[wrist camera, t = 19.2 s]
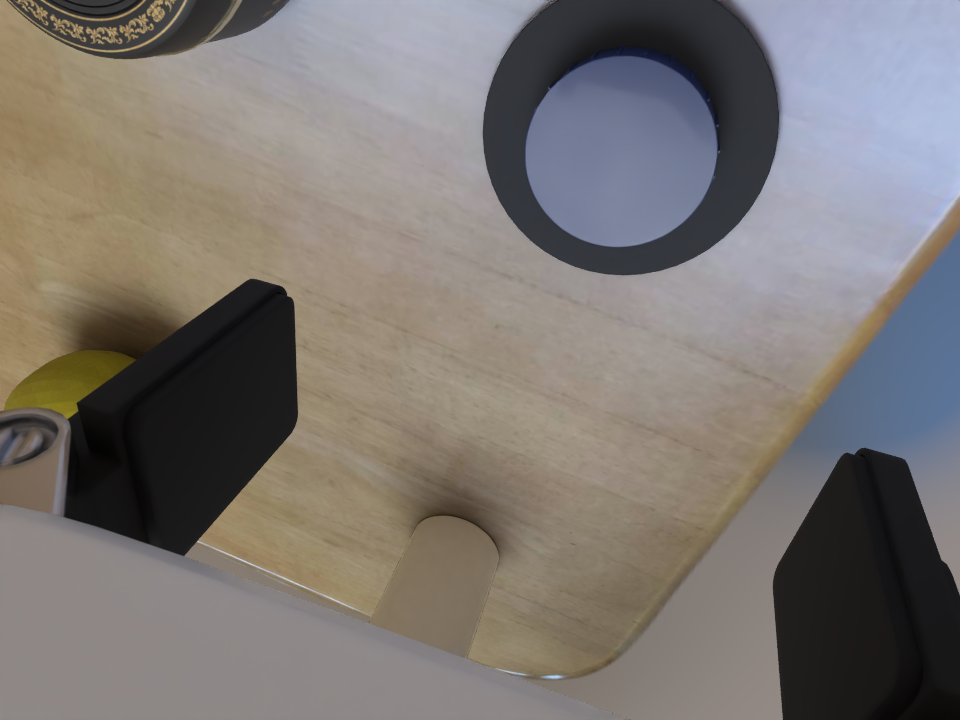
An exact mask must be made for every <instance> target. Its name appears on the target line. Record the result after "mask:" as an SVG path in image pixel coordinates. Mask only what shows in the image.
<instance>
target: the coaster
mask: <svg viewBox="0 0 960 720" xmlns="http://www.w3.org/2000/svg"><path fill="white" fill-rule="evenodd" d="M621 45H624V47H640V48H647V46H649V47H650V49H652V50H655V51H659V52H662V53H664V54H666V55H668V56H670V57H671V56H672V55H674V56H675V57H674V59H676V60H677V61H679V62H680V63H682V64H683V65H685V66H686V67H687V68H688V69H689V70H690V71H691V72H692V71H693V70H694V71H695V76H696V77H697V78H698V79H699V81H700V82H701V83H702V85H703V87H704V88H705V90H706V91H709V92H710V100H711V102H712V105H713V108H714V112H715V115H717V114H718V122H719V127H717V133H718V140H720V153H719V154H718V158H717V165H716V170H715V178H714V179H713V180H712V183H711V185H710V187H709V190H708V192H707V194H706V196H705V197H704V200H703V201H702V202H701V204H700V205H699V206H698V208H697V209H696V210H695V211H694V213H693V214H692V215H691V216H690V217H689V218H688V219H687V220H686V221H685V222H684V223H683V224H681V225H680V226H679V227H677V228H676V229H675V230H673V231H672V232H670V233H668V234H667V235H665V236H663V237H661V238H658V239H656V240H654V241H651V242H648V243H645V244H641V245H636V246H630V247H605V246H600V245H595V244H592V243H589V242H585V241H583V240H580V239H578V238H576V237H574V236H572V235H571V234H569V233H567V232H566V231H564V230H563V229H561V228H560V227H559V226H558V225H557V224H555V223H554V222H553V221H552V220H551V219H550V218H549V217H548V216H547V215H546V213H545V212H544V211H543V209H542V208H541V206H540V205H539V203H538V202H537V200H536V198H535V196H534V194H533V192H532V189H531V187H530V184H529V181H528V177H527V173H526V166H525V143H526V136H527V135H526V134H527V132H528V128H529V124H530V122H531V119H532V117H533V114H534V109H535V108H536V107H537V106H538V105H539V103H540V101H541V100H542V99H543V97H544V96H545V94H546V93H547V92H548V91H549V90H548V87H549V86H550V85H551V84H552V83H553V82H554V81H555V80H556V79H557V80H559V79H560V78H561V77H562V76H563V75H564V74H565V73H566V72H567V69H568V68H569V67H570V66H571V65H572V64H573V63H575V62H576V63H579V62H581V61H582V60H584V59H585V58H587V57H589V56H592V55H593V54H594V53H595V52H596V51H598V50H599V52H602V51H605V50H609V49H614V48H620V46H621ZM778 124H779V110H778V102H777V93H776V89H775V85H774V81H773V77H772V73H771V70H770V68H769V66H768V64H767V61H766V59H765V57H764V54H763V52H762V50H761V48H760V47H759V45H758V43H757V42H756V40H755V39H754V37H753V35H752V34H751V32H750V31H749V30H748V29H747V28H746V27H745V25H744V24H743V23H742V22H741V21H740V20H739V18H738V17H737V16H736V15H734V14H733V13H732V12H731V11H730V10H729V9H727V8H726V7H725V6H724V5H723V4H722V3H720V2H718V1H717V0H558V1H556V2H555V3H553V4H552V5H551V6H549V7H548V8H546V9H545V10H544V11H542V12H541V13H540V14H539V15H538V16H536V17H535V18H534V19H533V20H532V21H531V22H530V23H529V24H528V25H527V26H526V27H525V28H524V29H523V30H522V32H521V33H520V34H519V35H518V36H517V38H516V39H515V40H514V41H513V43H512V44H511V46H510V47H509V49H508V51H507V52H506V54H505V55H504V57H503V58H502V60H501V62H500V65H499V67H498V69H497V71H496V73H495V75H494V77H493V81H492V84H491V87H490V90H489V93H488V96H487V102H486V107H485V112H484V123H483V143H484V154H485V159H486V165H487V170H488V173H489V176H490V179H491V182H492V185H493V188H494V190H495V192H496V194H497V196H498V199H499V201H500V203H501V204H502V206H503V207H504V209H505V211H506V212H507V214H508V216H509V217H510V218H511V219H512V221H513V222H514V223H515V224H516V226H517V227H518V228H519V229H520V230H521V231H522V232H523V233H524V234H525V235H526V236H527V237H528V238H529V239H530V240H531V241H532V242H533V243H535V244H536V245H537V246H538V247H540V248H541V249H542V250H544V251H545V252H547V253H548V254H550V255H552V256H554V257H555V258H557V259H559V260H561V261H563V262H565V263H568V264H570V265H572V266H575V267H578V268H581V269H584V270H588V271H592V272H597V273H603V274H612V275H636V274H645V273H651V272H656V271H661V270H664V269H667V268H670V267H674V266H677V265H679V264H681V263H684V262H686V261H688V260H690V259H693V258H694V257H696V256H698V255H700V254H701V253H703V252H705V251H706V250H708V249H710V248H711V247H712V246H714V245H715V244H716V243H717V242H719V241H720V240H721V239H723V238H724V237H725V236H726V235H727V234H728V233H729V232H730V231H731V230H732V229H733V228H734V227H735V226H736V225H737V224H738V223H739V222H740V221H741V220H742V218H743V217H744V216H745V215H746V213H747V212H748V211H749V210H750V208H751V207H752V205H753V203H754V202H755V200H756V198H757V197H758V195H759V194H760V192H761V190H762V188H763V185H764V183H765V181H766V179H767V177H768V174H769V172H770V168H771V165H772V162H773V159H774V155H775V150H776V144H777V138H778Z"/></svg>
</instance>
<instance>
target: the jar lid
mask: <svg viewBox="0 0 960 720" xmlns="http://www.w3.org/2000/svg"><path fill="white" fill-rule="evenodd" d="M674 57H675V56H674V55H672V56H671V57H670V56H668V55H666V54H664V53H662V52H659V51H655V50H652V49H650V47H649V46H647V48H640V47H624V45H621V46H620V48H614V49H609V50H605V51H602V52H599V50H598V51H596V52H595V53H594V54H593V55H592V56H589V57H587V58H585V59H584V60H582V61H581V62H579V63H576V62H575V63H573V64H572V65H571V66H570V67H569V68H568V69H567V72H566V73H565V74H564V75H563V76H562V77H561V78H560V79H559V80H557V79H556V80H555V81H554V82H553V83H552V84H551V85H550V86H549V87H548V90H549V91H548V92H547V93H546V94H545V96H544V97H543V99H542V100H541V101H540V103H539V105H538V106H537V107H536V108H535V109H534V114H533V117H532V119H531V122H530V124H529V128H528V132H527V134H526V135H527V136H526V143H525V166H526V173H527V177H528V181H529V184H530V187H531V189H532V192H533V194H534V196H535V198H536V200H537V202H538V203H539V205H540V206H541V208H542V209H543V211H544V212H545V213H546V215H547V216H548V217H549V218H550V219H551V220H552V221H553V222H554V223H555V224H557V225H558V226H559V227H560V228H561V229H563V230H564V231H566V232H567V233H569V234H571V235H572V236H574V237H576V238H578V239H580V240H583V241H585V242H589V243H592V244H595V245H600V246H605V247H630V246H636V245H641V244H645V243H648V242H651V241H654V240H656V239H658V238H661V237H663V236H665V235H667V234H668V233H670V232H672V231H673V230H675V229H676V228H677V227H679V226H680V225H681V224H683V223H684V222H685V221H686V220H687V219H688V218H689V217H690V216H691V215H692V214H693V213H694V211H695V210H696V209H697V208H698V206H699V205H700V204H701V202H702V201H703V200H704V197H705V196H706V194H707V192H708V190H709V187H710V185H711V183H712V180H713V179H714V178H715V170H716V165H717V158H718V154H719V153H720V140H718V133H717V127H719V122H718V114H717V115H715V112H714V108H713V105H712V102H711V100H710V92H709V91H706V90H705V88H704V87H703V85H702V83H701V82H700V81H699V79H698V78H697V77H696V76H695V71H694V70H693V71H692V72H691V71H690V70H689V69H688V68H687V67H686V66H685V65H683V64H682V63H680V62H679V61H677V60H676V59H674Z"/></svg>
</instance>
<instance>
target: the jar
mask: <svg viewBox="0 0 960 720" xmlns="http://www.w3.org/2000/svg"><path fill="white" fill-rule="evenodd" d="M7 1H8V2H9V3H10V4H11V5H12V6H13V7H14V8H15V9H16V10H17V11H18V12H19V13H21V14H22V15H23V16H24V17H25V18H26V19H28V20H29V21H30V22H31V23H32V24H34V25H35V26H36V27H38V28H39V29H41V30H42V31H44V32H45V33H47V34H48V35H50V36H51V37H53V38H55V39H56V40H58V41H60V42H62V43H64V44H66V45H68V46H70V47H73V48H75V49H77V50H80V51H82V52H85V53H88V54H92V55H95V56H100V57H106V58H114V59H138V58H147V57H153V56H166V55H174V54H178V53H182V52H185V51H188V50H191V49H194V48H196V47H198V46H200V45H202V44H204V43H208V42H212V41H216V40H221V39H225V38H229V37H233V36H237V35H240V34H243V33H246V32H248V31H251V30H253V29H255V28H257V27H258V26H260V25H262V24H263V23H265V22H266V21H268V20H269V19H270V18H271V17H273V16H274V15H275V14H276V13H277V12H278V11H279V10H280V9H281V8H282V7H283V6H284V5H285V4H286V3H287V2H288V1H289V0H7Z"/></svg>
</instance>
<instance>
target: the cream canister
mask: <svg viewBox="0 0 960 720" xmlns="http://www.w3.org/2000/svg"><path fill="white" fill-rule="evenodd" d="M498 564H499V554H498V550H497V548H496V545H495V544H494V542H493V541H492V539H491V538H490V537H489V536H488V535H487V534H486V533H485V532H484V531H483V530H482V529H480V528H479V527H477V526H476V525H474V524H472V523H471V522H468V521H466V520H463V519H461V518H457V517H453V516H433V517H429V518H427V519H425V520H423V521H421V522H420V523H419V524H418V525H417V526H416V528H415V529H414V531H413V533H412V535H411V537H410V539H409V541H408V543H407V545H406V548H405V550H404V552H403V554H402V556H401V558H400V560H399V562H398V564H397V566H396V568H395V570H394V572H393V574H392V576H391V578H390V580H389V582H388V584H387V586H386V588H385V591H384V593H383V595H382V597H381V599H380V601H379V603H378V605H377V607H376V609H375V611H374V613H373V615H372V617H371V619H370V621H369V623H370V624H372V625H375V626H378V627H381V628H383V629H386V630H389V631H392V632H394V633H397V634H400V635H403V636H405V637H408V638H411V639H413V640H416V641H419V642H422V643H424V644H427V645H430V646H433V647H435V648H438V649H441V650H443V651H446V652H449V653H452V654H454V655H457V656H460V657H463V658H465V659H467V658H468V655H469V652H470V649H471V646H472V643H473V640H474V637H475V634H476V631H477V628H478V625H479V622H480V619H481V615H482V612H483V609H484V606H485V603H486V600H487V597H488V594H489V591H490V588H491V585H492V582H493V579H494V576H495V573H496V570H497V567H498Z"/></svg>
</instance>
